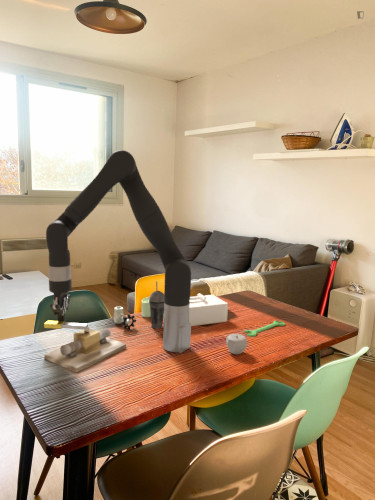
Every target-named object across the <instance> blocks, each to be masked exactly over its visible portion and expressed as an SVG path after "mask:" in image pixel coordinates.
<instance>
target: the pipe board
mask: <svg viewBox="0 0 375 500" xmlns="http://www.w3.org/2000/svg"><path fill="white" fill-rule="evenodd" d="M111 334H112V333H111V329H110V328H108V327H107V328H106V327H105V328H104V329H103V328H102V329H101V330H98V331H97V330H94V329H92V328H89V333H84V329H81V330H79V331H76V332H74V333H73V341H71V342H68V343H66V344H63V345H61V346H60V347H59V348H56V349H55V350H52V351H49V352H46V353H44V354H43V356H44V357H43V358H44V359H45V360H48V362H52V363H54V364H56V365H58V366H61V367H63V368H65V369H68V370H69V371H72V372H74V373H78V372H81V371H82V370H85V369H87V368H89V367H91V366H93V365H95V364H97V363H98V362H101V361H103V360H105V359H107V358H109V357H111V356H112V355H115V354H117V353H119V352H121V351H123V350H125V349H127V343H124V342H121V341H119V340H115V339H112V338H109V337H111Z"/></svg>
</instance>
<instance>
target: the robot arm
mask: <svg viewBox="0 0 375 500" xmlns="http://www.w3.org/2000/svg"><path fill="white" fill-rule="evenodd" d="M118 183H119V185H120V186H121V188H122V189H123V190H124V191H123V192H124V193H125V195H126V197H127V199H128V203H129V205H130V208H131V211H132V213H133V215H134V218H135V221H136V222H137V224H138V226H139V228H140V230H141V232H142V233H143V234H144V236H145V238H146V239H147V240H148V241H149V243H150V245H152V247H153V248H154V249H155V250H156V252H157V254H158V256H159V258H160V261H161V263H162V266H163V268H164V292H163V294H164V317H163V337H162V338H163V339H162V346H163V349H164V350H165V351H168V352H171V353H179V354H182V353H184V352H185V351H187V350H188V349H190V348H191V337H192V335H191V334H192V333H191V332H192V331H191V330H192V326H191V323H189V305H190V297H191V287H192V284H191V283H192V270H191V266H190V263H189V262H188V261H187V260H186V258H185V256H184V255H183V254H182V252H181V251H180V249H179V247H178V246H177V244H176V241H175V239H174V237H173V234H172V231H171V229H170V226H169V225H168V222H167V220H166V218H165V215H164V213H163V212H162V210H161V208H160V206H159V205H158V203H157V202H156V200H155V198H154V197H153V195H152V194H151V193H150V191H149V189H148V188H147V187H146V185H145V183H144V181H143V179H142V177H141V175H140V172H139V170H138V166H137V162H136V159H135V157H134V156H133V154H131V153H130V152H129V151H127V150H124V149H120V150H119V149H118V150H115V151H113V153H111V154H110V155H109V158H107V161H105V164H104V165H103V166H102V168H101V170H100V171H99V172H98V173H97V175H96V176H95V177H94V178H93V180H92V181H91V182H90V183H89V184H88V185H87V186H86V187H85V188H84V189H83V190H82V191H81V192H79V194H77V196H75V198H74V199H73V200H72V201H71V202H70V203H69V204H68V206H66V207H65V209H64V211H63V212H62V213H61V215H59V216H58V218H56V219H55V220H54V221H53V222H51V223H49V225H48V226H47V228H46V231H45V238H46V245H47V250H48V290H49V292H50V293H52V294H53V298H52V300H53V303H52V304H50V309H51V312H52V313H53V314H54V316H57V321H64V322H66V314H67V311H68V310H69V306H70V300H71V297H72V296H71V295H70V294H69V293H70V292H71V291H72V287H73V286H72V285H73V283H72V269H71V253H70V250H69V246H68V245H69V244H68V241H69V240H68V237H69V236H70V235H71V234H72V233H73V232H74V231H75V230H76V228H77V227H78V226H79V224H82V222H83V221H85V219H87V218H88V216H89V215H90V214H92V212H93V211H94V210H95V209H96V207H97V206H98V205H99V204H100V202H101V201H102V200H103V198H105V196H106V195H107V194H108V192H110V190H111V189H112V188H113V187H114V186H116V185H117V184H118ZM68 292H69V293H68Z"/></svg>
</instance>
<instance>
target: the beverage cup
mask: <svg viewBox="0 0 375 500" xmlns="http://www.w3.org/2000/svg"><path fill="white" fill-rule="evenodd" d="M155 286H156V287H155V288H156V290H155V291H152V293H151V294H150V295H149V297H150V298H149V304H150V313H151V317H150V323H151V325H150V326H151V328H152V329H155V330H156V329H157V330H160V329H161V328H163V325H164V292H162V291H160V290H158V281H157V280H156V281H155Z"/></svg>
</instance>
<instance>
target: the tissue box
mask: <svg viewBox="0 0 375 500" xmlns="http://www.w3.org/2000/svg"><path fill="white" fill-rule="evenodd" d="M228 309H229V303H228V302H226V301H224V300H223V299H220V298H219V297H218V296H215V295H214V294H206V295H203V294H202V293H197V295H195V296H190V305H189V323H191V327H193V326H194V327H195V326H202V325H210V324H216V323H217V324H218V323H225V322H228V313H229V310H228Z"/></svg>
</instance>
